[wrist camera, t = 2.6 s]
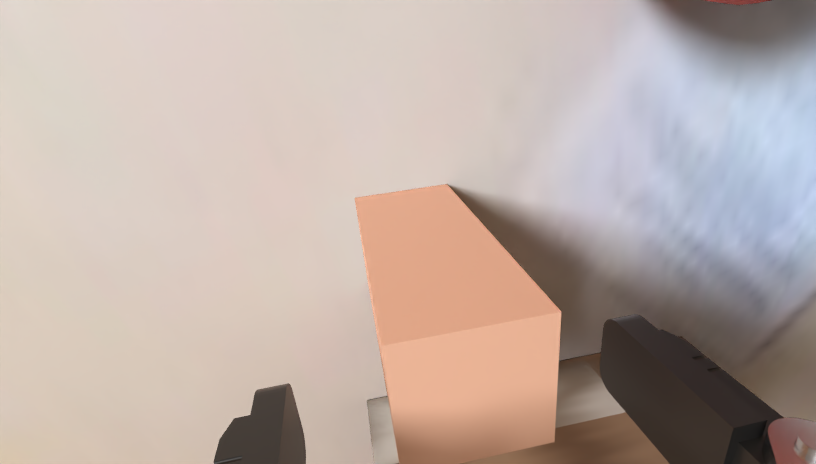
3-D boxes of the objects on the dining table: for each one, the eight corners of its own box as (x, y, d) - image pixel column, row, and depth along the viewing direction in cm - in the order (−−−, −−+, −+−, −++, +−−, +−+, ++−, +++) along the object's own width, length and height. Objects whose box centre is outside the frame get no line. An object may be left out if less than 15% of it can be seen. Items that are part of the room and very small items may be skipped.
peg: (446, 184, 19) (561, 312, 9) (452, 265, 20) (554, 441, 11) (354, 197, 18) (381, 346, 9) (367, 280, 20) (401, 477, 11)
